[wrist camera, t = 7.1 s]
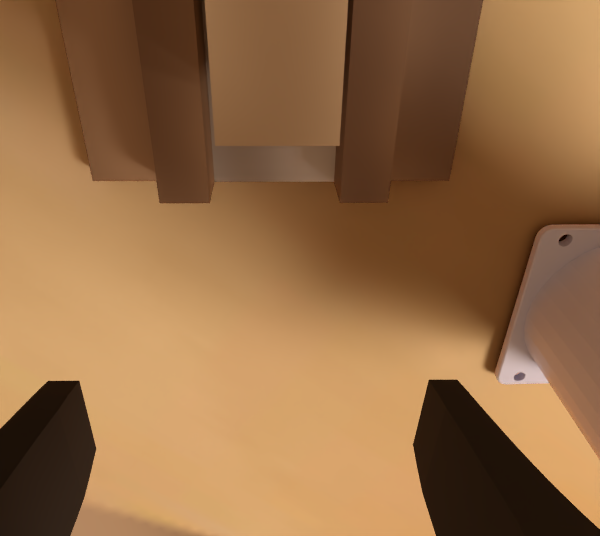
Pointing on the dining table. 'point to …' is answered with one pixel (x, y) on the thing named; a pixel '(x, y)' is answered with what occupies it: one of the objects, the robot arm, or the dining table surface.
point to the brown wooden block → (276, 71)
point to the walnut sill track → (267, 159)
